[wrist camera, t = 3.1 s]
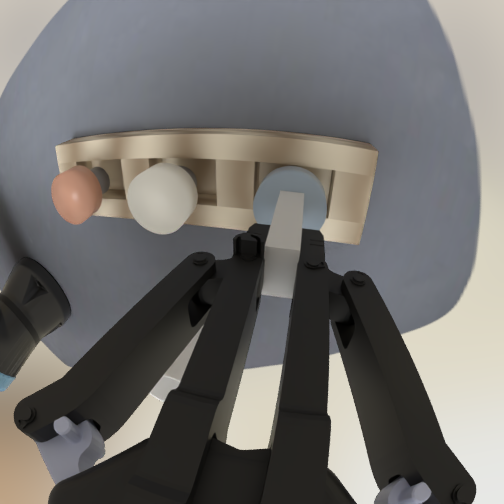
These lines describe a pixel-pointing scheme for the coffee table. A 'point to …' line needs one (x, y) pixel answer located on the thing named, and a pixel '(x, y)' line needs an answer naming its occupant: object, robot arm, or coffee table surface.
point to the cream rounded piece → (163, 197)
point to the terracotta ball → (79, 192)
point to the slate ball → (293, 182)
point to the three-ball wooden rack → (232, 171)
